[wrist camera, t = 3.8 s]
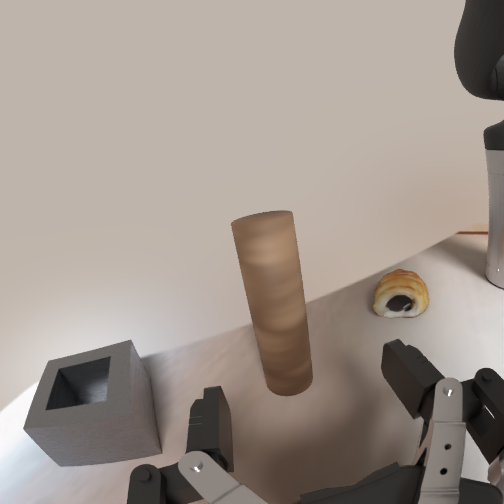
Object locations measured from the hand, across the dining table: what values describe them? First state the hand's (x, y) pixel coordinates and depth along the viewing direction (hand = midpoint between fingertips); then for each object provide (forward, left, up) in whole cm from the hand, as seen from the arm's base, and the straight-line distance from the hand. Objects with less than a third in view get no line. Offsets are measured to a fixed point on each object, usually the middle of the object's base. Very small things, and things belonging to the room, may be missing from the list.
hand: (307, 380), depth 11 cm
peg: (+3, -7, -8) cm, 11 cm away
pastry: (-7, -20, -8) cm, 23 cm away
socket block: (+17, +3, -8) cm, 19 cm away
